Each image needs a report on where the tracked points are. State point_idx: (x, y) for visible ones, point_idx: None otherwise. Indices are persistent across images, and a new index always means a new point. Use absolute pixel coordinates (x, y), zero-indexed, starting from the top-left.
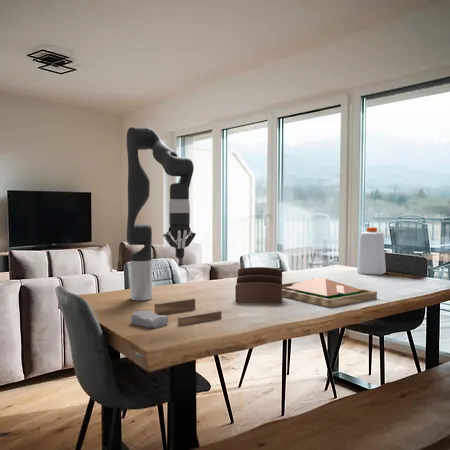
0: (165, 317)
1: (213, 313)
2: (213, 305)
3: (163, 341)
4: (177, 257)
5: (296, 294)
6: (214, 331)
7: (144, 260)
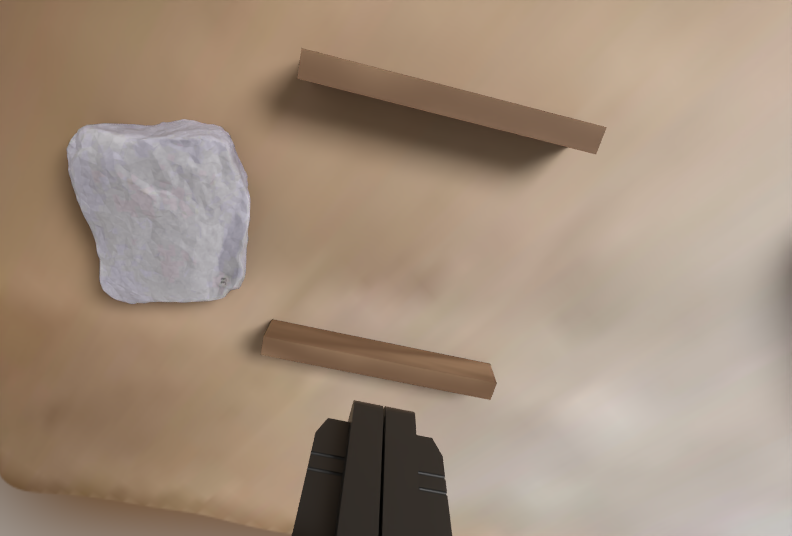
0: (209, 300)
1: (445, 388)
2: (712, 160)
3: (91, 440)
4: (348, 422)
5: None
6: None
7: None
